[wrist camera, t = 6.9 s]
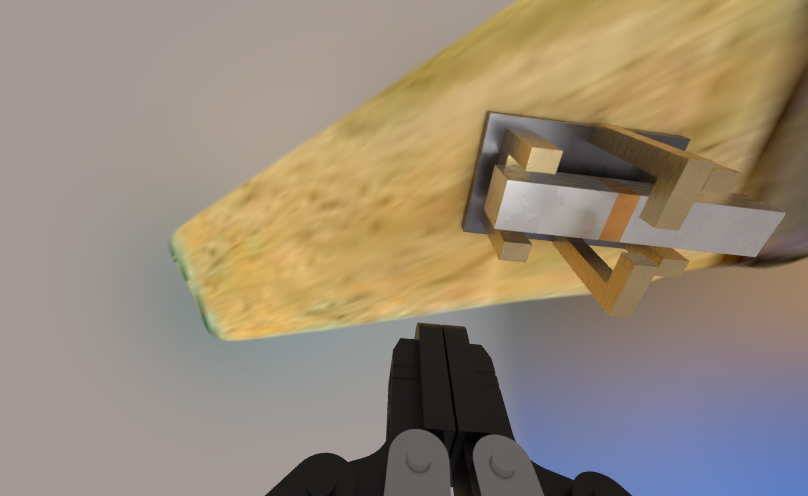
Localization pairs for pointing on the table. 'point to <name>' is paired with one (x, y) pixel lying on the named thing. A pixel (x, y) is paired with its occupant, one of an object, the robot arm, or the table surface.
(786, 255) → the table surface
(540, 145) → the tan bracket pieces
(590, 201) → the rod
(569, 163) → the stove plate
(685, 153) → the bridge
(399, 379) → the robot arm
